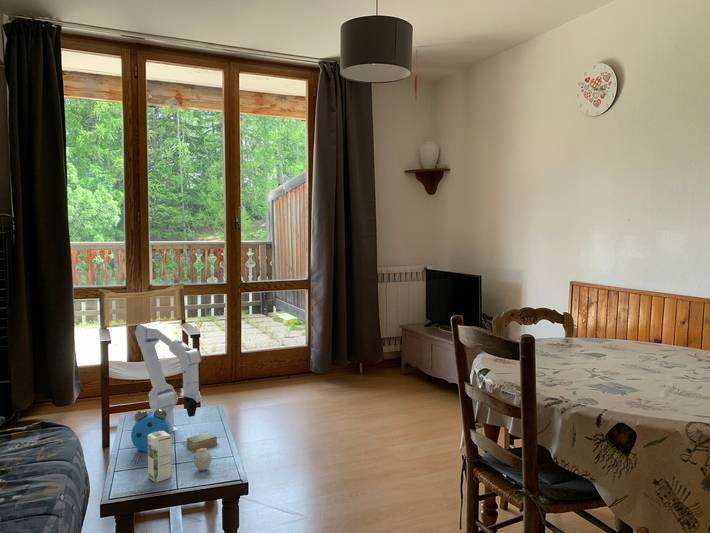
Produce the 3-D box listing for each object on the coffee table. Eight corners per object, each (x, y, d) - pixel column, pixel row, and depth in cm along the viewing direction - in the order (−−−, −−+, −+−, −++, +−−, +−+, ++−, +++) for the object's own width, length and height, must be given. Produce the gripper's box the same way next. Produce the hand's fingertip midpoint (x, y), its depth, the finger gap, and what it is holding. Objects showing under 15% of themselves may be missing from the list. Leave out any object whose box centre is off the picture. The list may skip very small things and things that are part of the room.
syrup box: (147, 477, 175) (146, 434, 174) (165, 471, 179) (163, 429, 178) (155, 483, 171) (153, 439, 170) (172, 477, 175) (171, 434, 174)
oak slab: (186, 438, 199) (193, 442, 195) (209, 431, 205) (216, 436, 201) (187, 445, 199) (194, 450, 195) (209, 439, 205) (216, 444, 201)
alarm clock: (171, 444, 201) (170, 405, 200) (169, 451, 195) (168, 411, 194) (134, 448, 199) (133, 408, 198) (131, 454, 193) (129, 414, 192)
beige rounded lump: (209, 463, 185) (208, 444, 185) (214, 471, 179) (214, 451, 179) (191, 467, 182) (190, 447, 182) (196, 475, 176) (195, 455, 176)
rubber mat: (180, 443, 203) (180, 442, 203) (205, 436, 209) (205, 435, 209) (193, 453, 194) (193, 452, 194) (219, 445, 201) (219, 444, 201)
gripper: (172, 379, 208) (173, 413, 209) (188, 387, 197) (189, 423, 198) (190, 375, 212) (191, 409, 213) (206, 383, 201) (207, 419, 203)
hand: (191, 415), depth 206 cm, fingers closed
